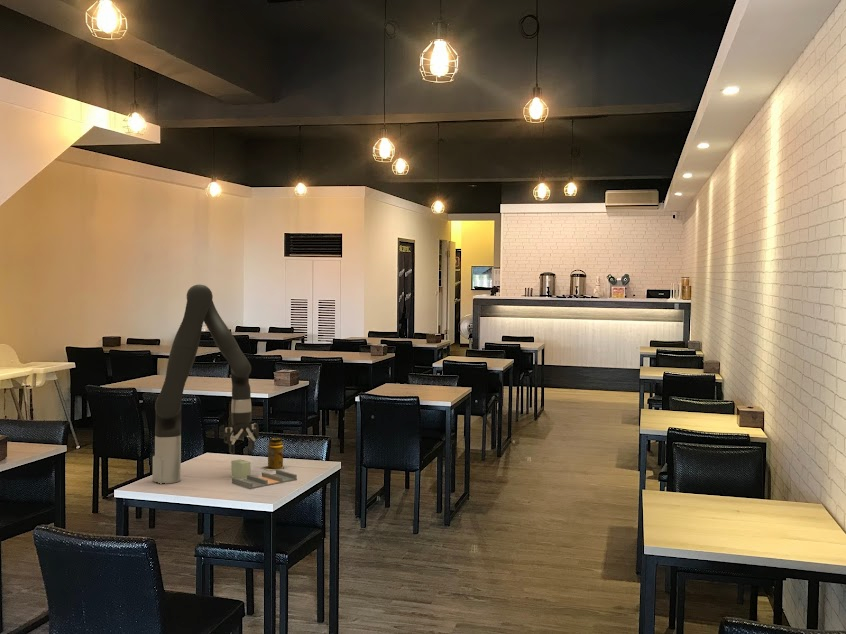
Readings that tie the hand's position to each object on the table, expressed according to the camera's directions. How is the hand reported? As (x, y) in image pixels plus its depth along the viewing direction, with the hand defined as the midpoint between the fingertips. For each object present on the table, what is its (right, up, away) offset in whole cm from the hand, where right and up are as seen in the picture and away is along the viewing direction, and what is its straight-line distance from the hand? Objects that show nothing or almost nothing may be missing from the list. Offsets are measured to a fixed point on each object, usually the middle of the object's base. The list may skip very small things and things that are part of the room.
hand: (241, 452), depth 297 cm
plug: (-1, -10, 0) cm, 10 cm away
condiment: (+9, -10, +16) cm, 21 cm away
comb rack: (+10, -10, -7) cm, 16 cm away
